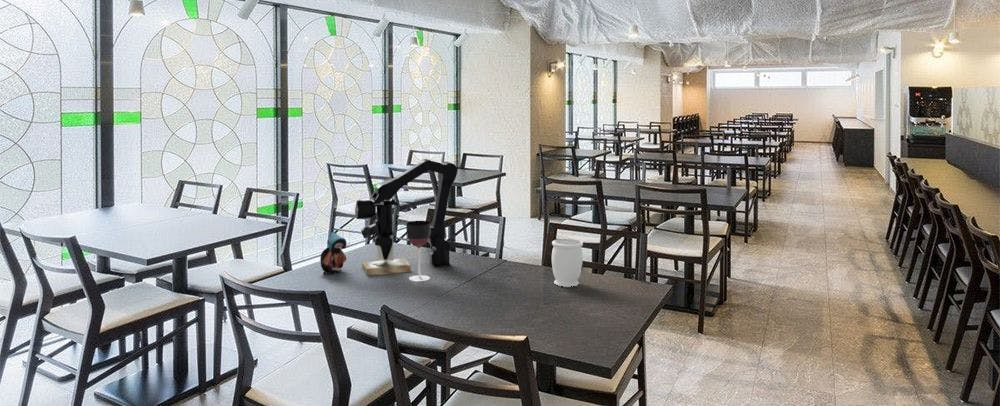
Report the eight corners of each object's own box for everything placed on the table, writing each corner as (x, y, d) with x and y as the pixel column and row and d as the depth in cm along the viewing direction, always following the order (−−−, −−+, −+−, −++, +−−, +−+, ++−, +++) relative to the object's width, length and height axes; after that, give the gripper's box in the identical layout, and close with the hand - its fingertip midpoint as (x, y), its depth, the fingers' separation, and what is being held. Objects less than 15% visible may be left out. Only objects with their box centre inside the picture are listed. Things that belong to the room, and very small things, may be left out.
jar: (584, 281, 225) (585, 239, 223) (578, 290, 216) (579, 246, 213) (555, 278, 229) (556, 237, 226) (547, 286, 219) (548, 243, 216)
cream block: (378, 262, 239) (378, 244, 238) (394, 262, 238) (394, 244, 237) (373, 266, 234) (373, 247, 232) (389, 267, 233) (389, 248, 232)
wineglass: (435, 276, 231) (434, 221, 227) (422, 282, 223) (421, 226, 219) (416, 273, 234) (415, 219, 231) (403, 280, 226) (401, 224, 223)
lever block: (404, 264, 246) (403, 257, 246) (410, 271, 237) (410, 264, 236) (362, 268, 240) (361, 261, 240) (367, 275, 231) (366, 268, 230)
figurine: (331, 277, 229) (329, 236, 227) (317, 274, 233) (315, 233, 231) (351, 270, 238) (350, 231, 235) (338, 267, 241) (336, 228, 239)
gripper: (364, 213, 243) (365, 253, 246) (359, 222, 225) (361, 266, 228) (394, 212, 245) (394, 252, 247) (392, 222, 226) (393, 265, 229)
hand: (385, 258), depth 238 cm, fingers closed on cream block, 2 cm apart
